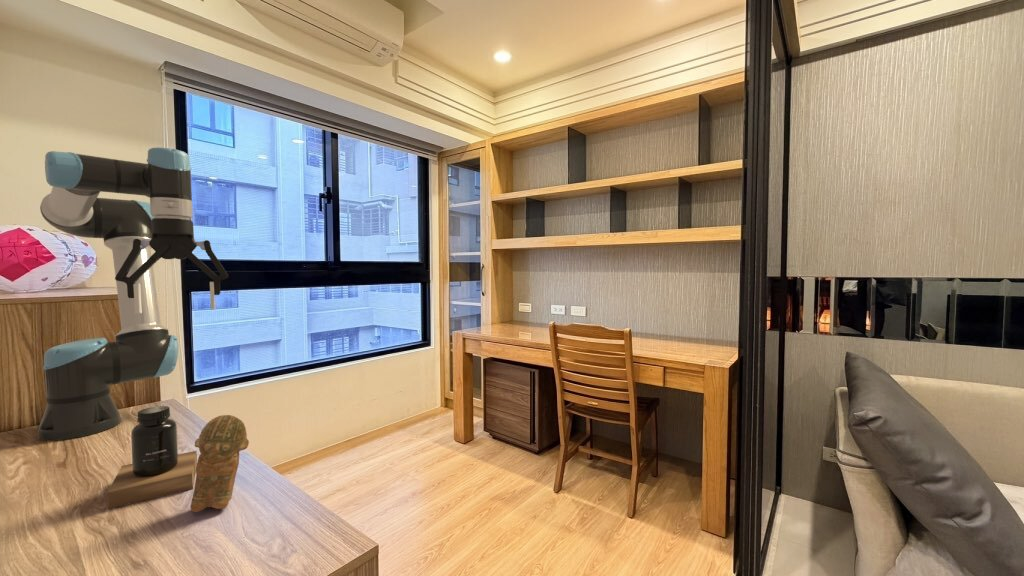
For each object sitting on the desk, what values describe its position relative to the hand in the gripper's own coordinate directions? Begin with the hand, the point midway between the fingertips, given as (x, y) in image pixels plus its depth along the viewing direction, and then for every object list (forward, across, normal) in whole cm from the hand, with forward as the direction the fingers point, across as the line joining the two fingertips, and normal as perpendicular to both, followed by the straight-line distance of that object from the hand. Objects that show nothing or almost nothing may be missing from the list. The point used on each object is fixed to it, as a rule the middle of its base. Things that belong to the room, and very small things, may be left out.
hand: (177, 311), depth 97 cm
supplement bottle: (+30, -3, -18) cm, 35 cm away
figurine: (+33, +8, -33) cm, 47 cm away
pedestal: (+32, -3, -18) cm, 37 cm away
